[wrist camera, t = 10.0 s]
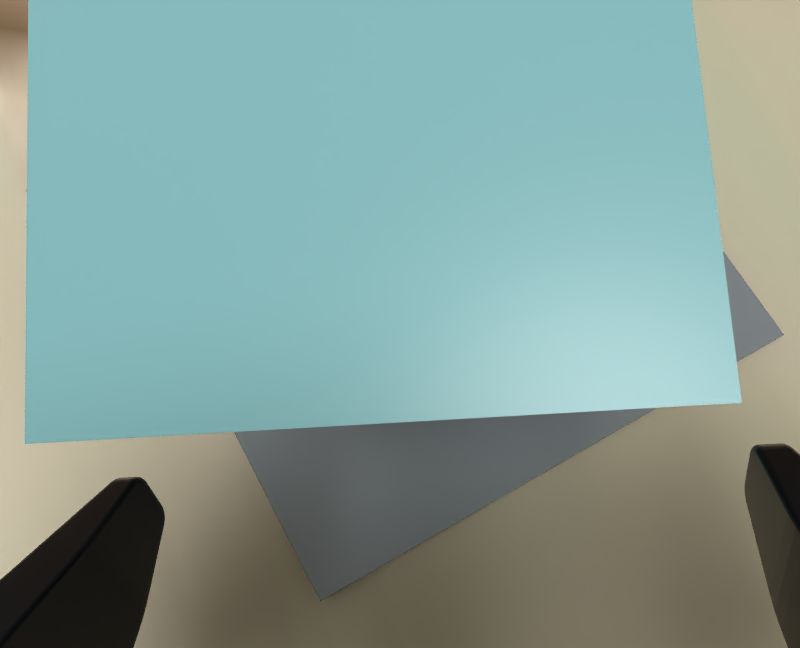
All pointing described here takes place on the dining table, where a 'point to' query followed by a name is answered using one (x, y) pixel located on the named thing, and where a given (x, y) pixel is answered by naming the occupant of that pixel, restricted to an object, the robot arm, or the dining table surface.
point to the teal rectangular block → (366, 214)
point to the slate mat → (428, 468)
